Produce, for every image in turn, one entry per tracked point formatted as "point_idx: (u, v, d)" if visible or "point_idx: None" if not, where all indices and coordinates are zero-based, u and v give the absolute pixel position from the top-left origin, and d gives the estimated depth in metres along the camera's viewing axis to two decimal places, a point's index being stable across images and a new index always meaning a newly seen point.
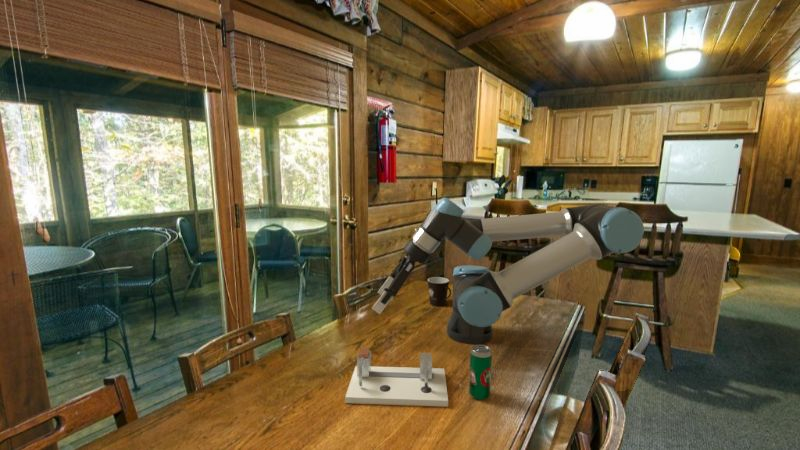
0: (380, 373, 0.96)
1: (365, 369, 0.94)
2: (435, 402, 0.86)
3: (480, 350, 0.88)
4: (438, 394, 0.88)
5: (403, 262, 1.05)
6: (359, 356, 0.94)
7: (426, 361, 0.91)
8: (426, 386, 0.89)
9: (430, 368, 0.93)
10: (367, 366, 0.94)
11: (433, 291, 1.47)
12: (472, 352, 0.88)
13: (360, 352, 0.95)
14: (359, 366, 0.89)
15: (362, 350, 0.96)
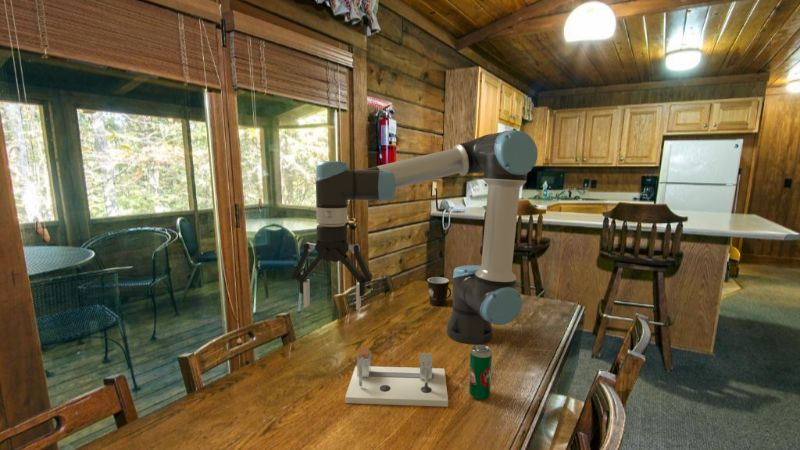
0: (380, 373, 0.96)
1: (365, 369, 0.94)
2: (435, 402, 0.86)
3: (480, 350, 0.88)
4: (438, 394, 0.88)
5: (339, 251, 0.91)
6: (359, 356, 0.94)
7: (426, 361, 0.91)
8: (426, 386, 0.89)
9: (430, 368, 0.93)
10: (367, 366, 0.94)
11: (433, 291, 1.47)
12: (472, 352, 0.88)
13: (360, 352, 0.95)
14: (359, 366, 0.89)
15: (362, 350, 0.96)
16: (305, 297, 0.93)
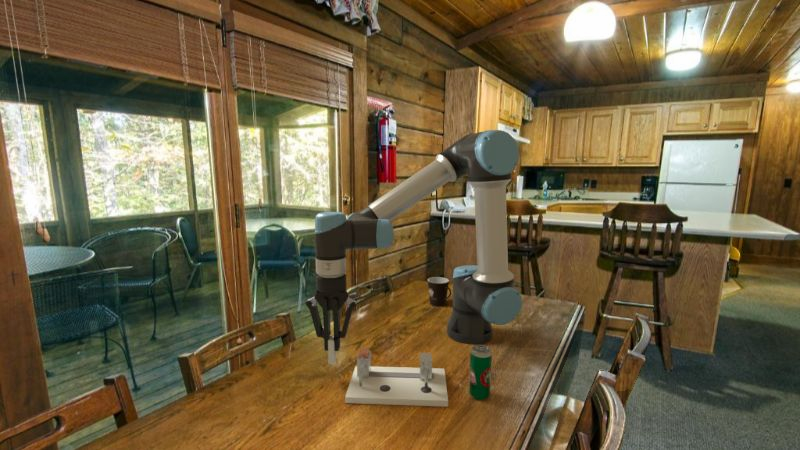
0: (380, 373, 0.96)
1: (365, 369, 0.94)
2: (435, 402, 0.86)
3: (480, 350, 0.88)
4: (438, 394, 0.88)
5: (337, 303, 0.92)
6: (359, 356, 0.94)
7: (426, 361, 0.91)
8: (426, 386, 0.89)
9: (430, 368, 0.93)
10: (367, 366, 0.94)
11: (433, 291, 1.47)
12: (472, 352, 0.88)
13: (360, 352, 0.95)
14: (359, 366, 0.89)
15: (362, 350, 0.96)
16: (330, 354, 0.95)
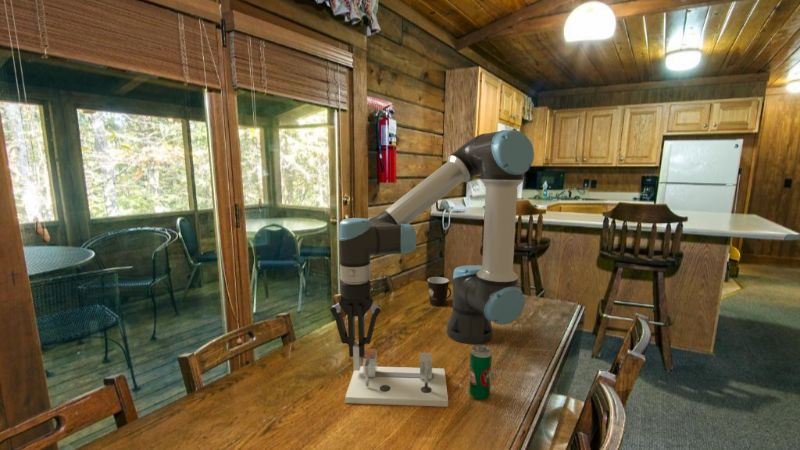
0: (380, 373, 0.96)
1: (371, 369, 0.94)
2: (435, 402, 0.86)
3: (480, 350, 0.88)
4: (438, 394, 0.88)
5: (362, 309, 0.92)
6: (365, 356, 0.94)
7: (426, 361, 0.91)
8: (426, 386, 0.89)
9: (430, 368, 0.93)
10: (373, 366, 0.94)
11: (433, 291, 1.47)
12: (472, 352, 0.88)
13: (366, 352, 0.95)
14: (366, 366, 0.89)
15: (368, 350, 0.96)
16: (355, 360, 0.95)
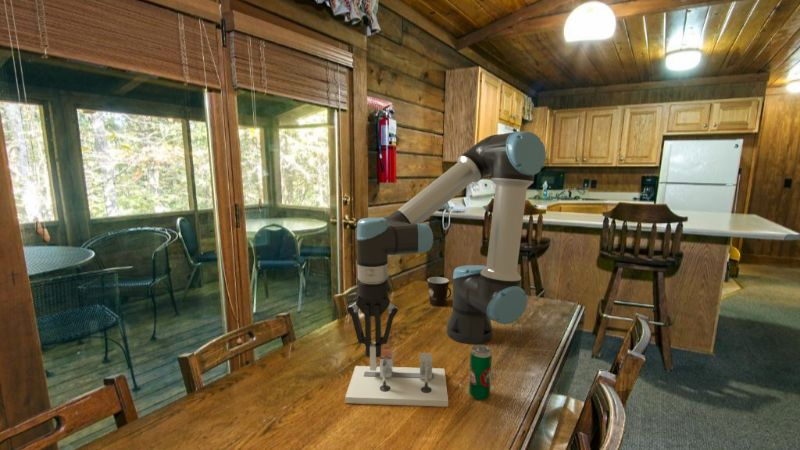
0: None
1: (388, 369, 0.94)
2: (435, 402, 0.86)
3: (480, 350, 0.88)
4: (438, 394, 0.88)
5: (379, 309, 0.92)
6: (382, 357, 0.94)
7: (426, 361, 0.91)
8: (426, 386, 0.89)
9: (430, 368, 0.93)
10: (390, 367, 0.94)
11: (433, 291, 1.47)
12: (472, 352, 0.88)
13: (383, 353, 0.95)
14: (383, 367, 0.89)
15: (384, 351, 0.96)
16: (371, 360, 0.94)
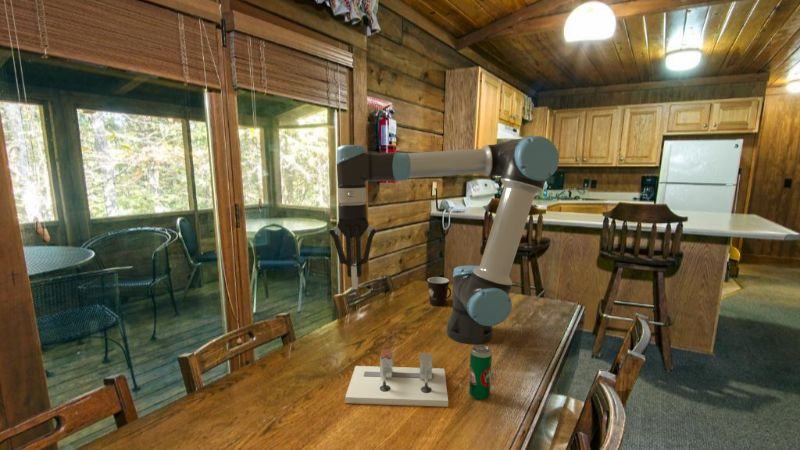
0: None
1: (388, 369, 0.94)
2: (435, 402, 0.86)
3: (480, 350, 0.88)
4: (438, 394, 0.88)
5: (359, 230, 1.00)
6: (382, 357, 0.94)
7: (426, 361, 0.91)
8: (426, 386, 0.89)
9: (430, 368, 0.93)
10: (390, 367, 0.94)
11: (433, 291, 1.47)
12: (472, 352, 0.88)
13: (383, 353, 0.95)
14: (383, 367, 0.89)
15: (384, 351, 0.96)
16: (353, 280, 1.02)
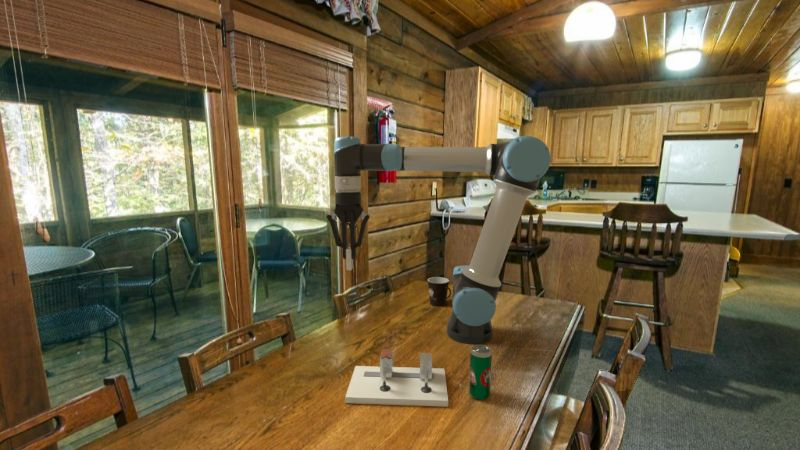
0: None
1: (388, 369, 0.94)
2: (435, 402, 0.86)
3: (480, 350, 0.88)
4: (438, 394, 0.88)
5: (353, 215, 1.08)
6: (382, 357, 0.94)
7: (426, 361, 0.91)
8: (426, 386, 0.89)
9: (430, 368, 0.93)
10: (390, 367, 0.94)
11: (433, 291, 1.47)
12: (472, 352, 0.88)
13: (383, 353, 0.95)
14: (383, 367, 0.89)
15: (384, 351, 0.96)
16: (347, 261, 1.11)
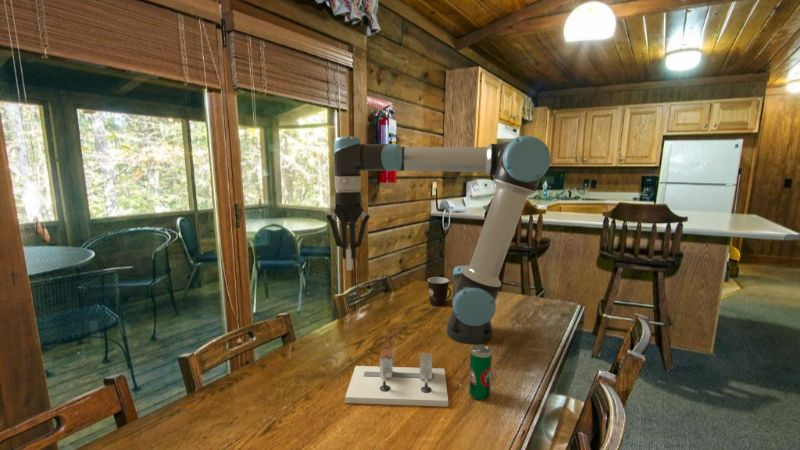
0: None
1: (388, 369, 0.94)
2: (435, 402, 0.86)
3: (480, 350, 0.88)
4: (438, 394, 0.88)
5: (353, 215, 1.08)
6: (382, 357, 0.94)
7: (426, 361, 0.91)
8: (426, 386, 0.89)
9: (430, 368, 0.93)
10: (390, 367, 0.94)
11: (433, 291, 1.47)
12: (472, 352, 0.88)
13: (383, 353, 0.95)
14: (383, 367, 0.89)
15: (384, 351, 0.96)
16: (347, 261, 1.11)
